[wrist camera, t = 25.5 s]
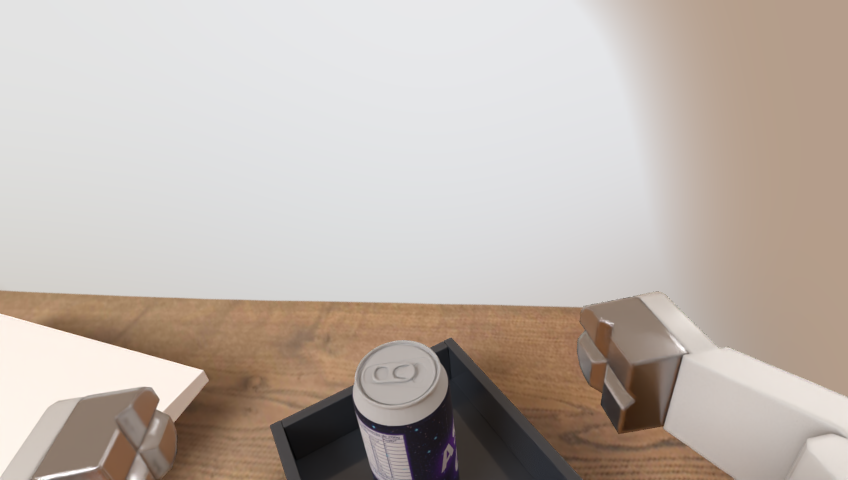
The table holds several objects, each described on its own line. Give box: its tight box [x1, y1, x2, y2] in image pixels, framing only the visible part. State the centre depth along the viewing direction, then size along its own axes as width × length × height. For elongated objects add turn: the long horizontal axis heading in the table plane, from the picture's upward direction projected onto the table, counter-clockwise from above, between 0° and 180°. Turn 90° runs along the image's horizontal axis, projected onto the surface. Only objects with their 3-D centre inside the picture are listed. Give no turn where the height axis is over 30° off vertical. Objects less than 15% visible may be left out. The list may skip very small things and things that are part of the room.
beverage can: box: [352, 340, 460, 480], centre depth 29 cm, size 6×6×12 cm
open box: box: [270, 338, 583, 480], centre depth 31 cm, size 16×16×5 cm
